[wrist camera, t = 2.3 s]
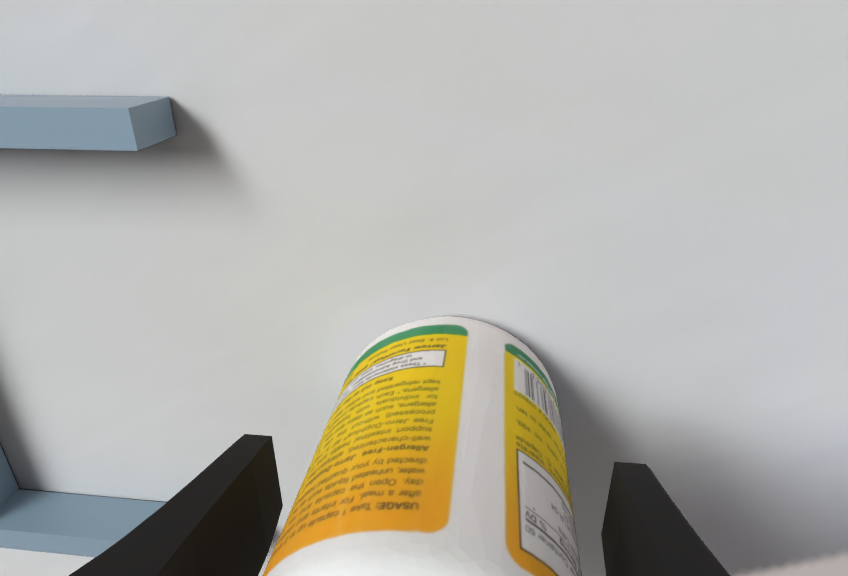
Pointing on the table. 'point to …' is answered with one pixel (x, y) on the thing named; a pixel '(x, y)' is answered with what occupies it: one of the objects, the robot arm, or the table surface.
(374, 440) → the supplement bottle
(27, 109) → the blue-grey u-shaped bracket
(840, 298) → the table surface
